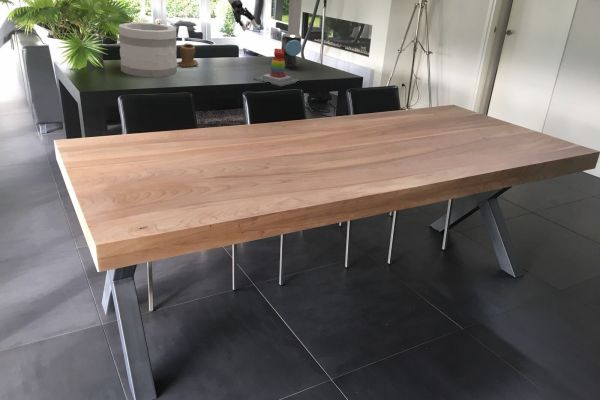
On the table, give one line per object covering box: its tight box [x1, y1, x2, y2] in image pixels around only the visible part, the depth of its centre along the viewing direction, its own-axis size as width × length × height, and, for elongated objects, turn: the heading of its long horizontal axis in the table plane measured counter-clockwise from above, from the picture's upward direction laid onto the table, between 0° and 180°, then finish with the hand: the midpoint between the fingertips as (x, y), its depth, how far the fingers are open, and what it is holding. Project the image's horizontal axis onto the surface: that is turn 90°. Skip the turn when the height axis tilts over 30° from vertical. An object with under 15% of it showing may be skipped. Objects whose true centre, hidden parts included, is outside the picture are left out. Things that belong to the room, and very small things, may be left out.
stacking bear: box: [269, 47, 287, 77], centre depth 331 cm, size 11×10×18 cm
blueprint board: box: [253, 73, 300, 87], centre depth 336 cm, size 22×22×3 cm
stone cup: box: [177, 43, 199, 68], centre depth 346 cm, size 15×12×15 cm
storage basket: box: [118, 22, 178, 78], centre depth 319 cm, size 35×35×27 cm
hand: (251, 29), depth 343 cm, fingers open, 13 cm apart
